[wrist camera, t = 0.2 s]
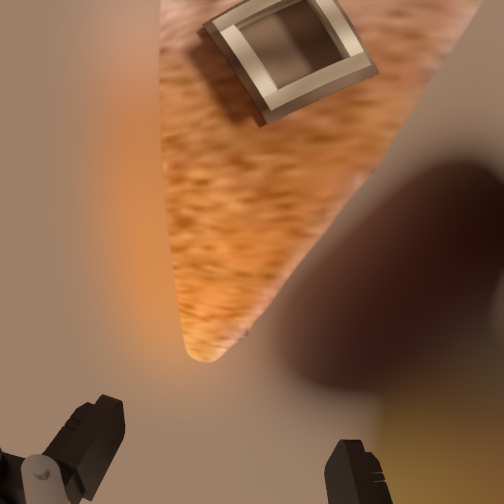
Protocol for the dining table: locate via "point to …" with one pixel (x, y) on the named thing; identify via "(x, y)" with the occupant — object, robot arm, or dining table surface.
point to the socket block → (290, 51)
